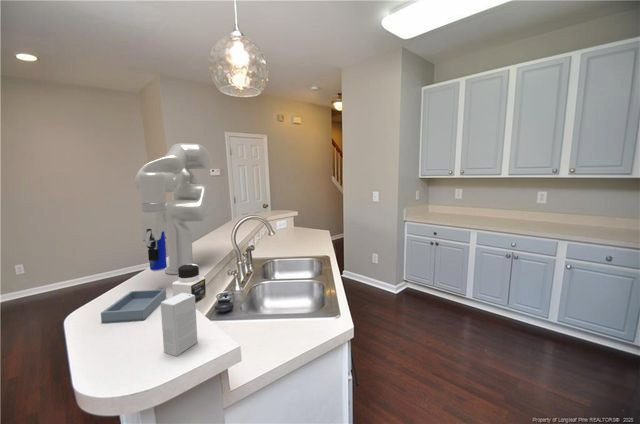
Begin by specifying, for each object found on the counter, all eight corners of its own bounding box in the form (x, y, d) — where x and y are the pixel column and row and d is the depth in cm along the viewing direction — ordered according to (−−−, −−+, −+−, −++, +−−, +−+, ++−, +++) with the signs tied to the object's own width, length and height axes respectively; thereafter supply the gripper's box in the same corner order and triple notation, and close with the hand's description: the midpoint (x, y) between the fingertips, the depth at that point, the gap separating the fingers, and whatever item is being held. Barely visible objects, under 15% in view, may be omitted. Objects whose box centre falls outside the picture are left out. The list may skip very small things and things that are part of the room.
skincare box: (184, 338, 66) (182, 291, 65) (198, 342, 64) (196, 294, 63) (162, 352, 60) (159, 301, 59) (176, 357, 59) (173, 305, 58)
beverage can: (148, 268, 97) (145, 228, 95) (164, 265, 100) (162, 226, 99) (151, 272, 93) (148, 230, 91) (168, 269, 97) (165, 228, 95)
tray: (131, 299, 89) (131, 291, 88) (166, 297, 90) (165, 289, 90) (101, 323, 73) (100, 312, 73) (143, 320, 75) (143, 310, 75)
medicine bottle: (192, 306, 84) (190, 269, 83) (172, 304, 85) (170, 267, 84) (206, 297, 91) (205, 263, 90) (187, 295, 92) (186, 261, 91)
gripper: (153, 205, 102) (156, 251, 104) (129, 210, 85) (134, 265, 87) (174, 205, 103) (177, 251, 105) (155, 210, 86) (158, 264, 89)
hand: (157, 257), depth 96 cm, fingers closed on beverage can, 5 cm apart
